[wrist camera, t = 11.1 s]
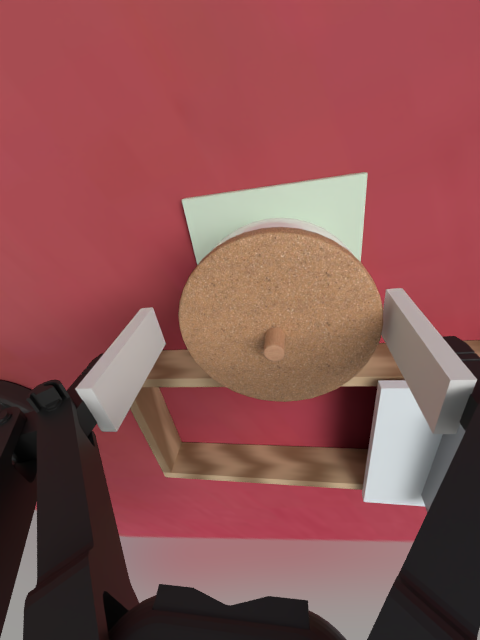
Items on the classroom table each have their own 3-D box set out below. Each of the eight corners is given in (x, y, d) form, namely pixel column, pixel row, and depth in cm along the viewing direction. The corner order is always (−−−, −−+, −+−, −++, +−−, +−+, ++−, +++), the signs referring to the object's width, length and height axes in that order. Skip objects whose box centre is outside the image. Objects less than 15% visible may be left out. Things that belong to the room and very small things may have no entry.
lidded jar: (352, 327, 23) (385, 425, 15) (225, 336, 25) (198, 425, 18) (355, 185, 18) (410, 224, 10) (193, 213, 20) (133, 263, 12)
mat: (216, 335, 26) (215, 339, 26) (184, 198, 20) (181, 199, 19) (353, 330, 24) (355, 334, 23) (365, 172, 18) (367, 172, 17)
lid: (361, 493, 29) (369, 531, 26) (378, 380, 21) (392, 418, 18) (484, 501, 27) (507, 544, 24) (558, 379, 19) (606, 422, 16)
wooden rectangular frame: (176, 446, 37) (165, 477, 34) (134, 351, 29) (114, 379, 25) (471, 458, 30) (494, 497, 27) (528, 338, 22) (571, 374, 19)
